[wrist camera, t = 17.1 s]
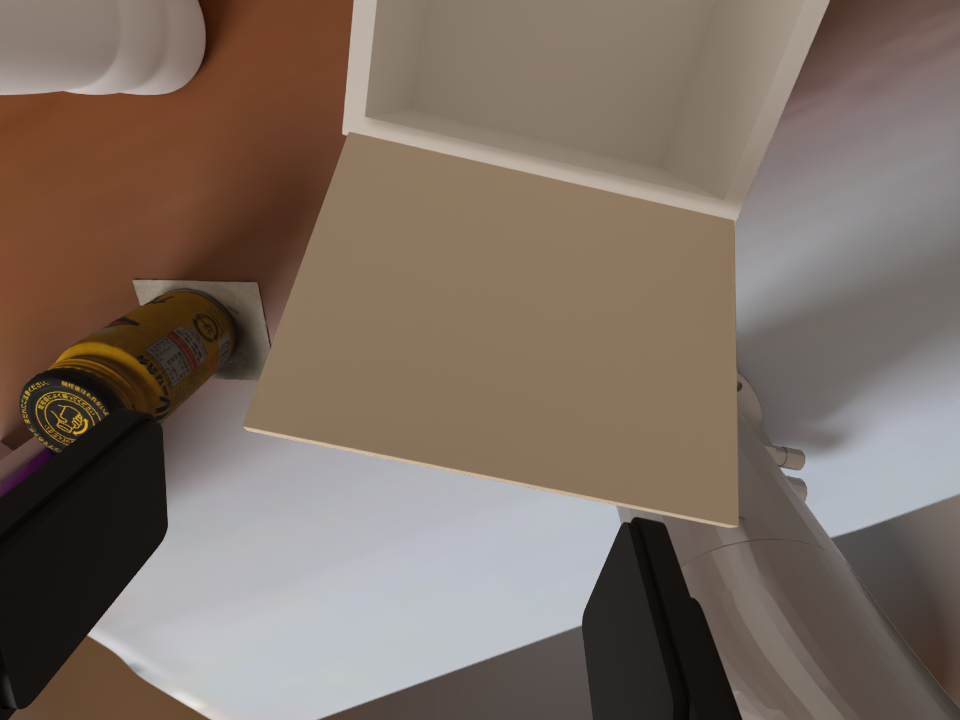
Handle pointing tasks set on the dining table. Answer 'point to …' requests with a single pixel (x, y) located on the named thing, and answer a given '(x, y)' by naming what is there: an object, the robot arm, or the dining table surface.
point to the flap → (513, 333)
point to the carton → (586, 88)
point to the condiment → (150, 357)
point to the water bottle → (99, 46)
